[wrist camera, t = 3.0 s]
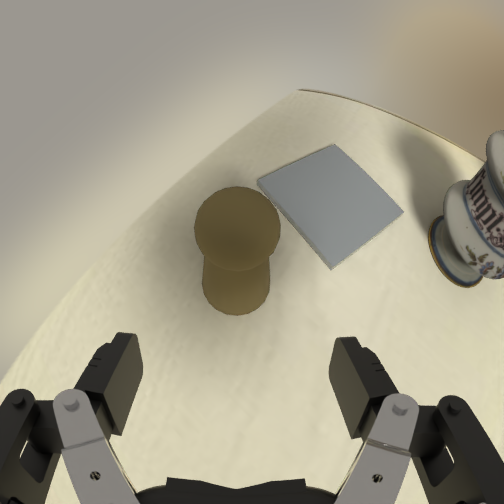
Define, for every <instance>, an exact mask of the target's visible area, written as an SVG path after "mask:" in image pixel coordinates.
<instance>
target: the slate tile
mask: <svg viewBox="0 0 504 504" xmlns="http://www.w3.org/2000/svg"><path fill="white" fill-rule="evenodd" d="M257 185H258V186H259V188H260V189H261V190H262V191H263V192H264V193H265V194H266V195H267V196H268V198H269V199H270V200H271V201H272V202H273V203H274V204H275V205H276V207H277V208H278V209H279V210H280V211H281V212H282V213H283V215H284V216H285V217H286V218H287V219H288V220H289V221H290V223H291V224H292V225H293V226H294V227H295V228H296V230H297V231H298V232H299V233H300V234H301V235H302V236H303V238H304V239H305V240H306V241H307V242H308V244H309V245H310V246H311V247H312V248H313V249H314V251H315V252H316V253H317V254H318V255H319V257H320V258H321V259H322V260H323V261H324V263H325V264H326V265H327V266H328V267H329V269H330V270H332V269H333V268H335V267H336V266H337V265H339V264H340V263H341V262H343V261H344V260H345V259H347V258H348V257H349V256H351V255H352V254H353V253H355V252H356V251H357V250H359V249H360V248H361V247H362V246H364V245H365V244H366V243H368V242H369V241H370V240H371V239H373V238H374V237H375V236H377V235H378V234H379V233H380V232H382V231H383V230H384V229H385V228H387V227H388V226H389V225H390V224H392V223H393V222H394V221H395V220H396V219H398V218H399V217H400V216H401V215H402V214H403V213H404V211H403V210H402V209H401V208H400V207H399V206H398V205H397V204H396V203H395V202H394V201H393V199H392V198H391V197H390V196H389V195H388V194H387V193H386V192H385V191H384V190H383V189H382V188H381V187H380V186H379V185H378V184H377V183H376V182H375V181H374V180H373V179H372V178H371V177H370V176H369V175H368V174H367V173H366V172H365V171H364V170H363V169H362V168H361V167H360V166H358V165H357V164H356V163H355V162H354V161H353V160H352V159H351V158H350V157H349V156H348V155H347V154H346V153H344V152H343V151H342V150H341V149H340V148H339V147H338V146H337V145H335V144H334V145H332V146H330V147H327V148H325V149H323V150H320V151H318V152H316V153H314V154H312V155H309V156H307V157H305V158H303V159H301V160H298V161H296V162H294V163H292V164H290V165H288V166H286V167H283V168H281V169H279V170H277V171H275V172H273V173H271V174H269V175H267V176H265V177H263V178H261V179H258V180H257Z"/></svg>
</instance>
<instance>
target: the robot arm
mask: <svg viewBox="0 0 504 504" xmlns="http://www.w3.org/2000/svg"><path fill="white" fill-rule="evenodd" d="M142 375H143V362H142V357H141V353H140V348H139V343H138V338H137V335H136V334H132V333H122V332H118V333H117V334H116V335H115V337H114V339H113V340H112V342H111V343H105V344H104V345H102V346H101V347H100V348H98V349H97V351H96V352H95V354H94V355H93V357H92V359H91V360H90V362H89V363H88V366H87V367H86V368H85V370H84V372H83V373H82V375H81V377H80V378H79V380H78V382H77V384H76V385H75V387H74V389H68V390H65V391H62V392H61V393H59V394H58V395H57V396H56V397H55V399H54V400H36V399H35V398H34V396H33V394H32V393H31V392H30V391H28V390H26V389H17V390H14V391H12V392H11V393H9V394H8V395H7V396H6V398H5V399H4V401H3V402H2V404H1V406H0V504H45V500H46V497H47V494H48V491H49V487H50V484H51V481H52V478H53V475H54V472H55V469H56V466H57V463H58V461H59V458H60V455H61V454H62V456H63V459H64V462H65V465H66V468H67V471H68V473H69V476H70V479H71V481H72V484H73V487H74V489H75V492H76V494H77V496H78V499H79V501H80V503H81V504H394V503H395V501H396V498H397V495H398V493H399V490H400V488H401V485H402V482H403V479H404V477H405V474H406V471H407V468H408V465H409V461H410V458H412V460H413V463H414V465H415V468H416V470H417V473H418V475H419V478H420V481H421V483H422V486H423V488H424V491H425V494H426V497H427V499H428V502H429V504H504V463H503V461H502V459H501V457H500V455H499V454H498V452H497V450H496V449H495V447H494V445H493V443H492V442H491V440H490V438H489V437H488V435H487V434H486V432H485V430H484V429H483V427H482V426H481V424H480V422H479V421H478V419H477V418H476V416H475V415H474V413H473V411H472V410H471V408H470V407H469V405H468V404H467V403H466V401H464V400H463V399H462V398H460V397H458V396H453V395H449V396H445V397H443V398H442V399H441V400H440V401H439V403H438V405H437V406H420V405H418V404H417V402H416V401H415V400H414V399H413V398H412V397H410V396H408V395H405V394H400V393H399V392H398V390H397V388H396V387H395V385H394V383H393V382H392V380H391V378H390V377H389V375H388V373H387V372H386V371H385V369H384V367H383V365H382V364H381V362H380V360H379V359H378V357H377V356H376V354H375V353H373V352H372V351H371V350H370V349H368V348H367V347H364V348H362V347H361V345H360V343H359V342H358V340H357V338H356V337H339V338H336V340H335V344H334V348H333V353H332V357H331V361H330V365H329V379H330V382H331V385H332V387H333V390H334V393H335V395H336V398H337V401H338V404H339V406H340V409H341V412H342V415H343V417H344V420H345V423H346V426H347V428H348V431H349V434H350V437H351V439H355V438H360V437H361V438H362V440H363V443H362V445H361V447H360V449H359V451H358V453H357V455H356V457H355V459H354V461H353V463H352V465H351V467H350V469H349V471H348V473H347V474H346V476H345V478H344V480H343V481H342V483H341V485H340V486H339V488H338V490H337V491H336V493H335V494H334V493H331V492H329V491H326V490H323V489H319V488H315V487H308V486H306V483H305V478H304V479H295V480H283V481H270V482H266V483H263V484H258V485H254V486H250V487H245V488H240V489H232V488H227V487H223V486H219V485H215V484H211V483H207V482H204V481H199V480H187V479H178V478H169V477H167V482H166V485H161V486H156V487H151V488H148V489H145V490H142V491H140V492H137V491H136V489H135V487H134V486H133V484H132V483H131V481H130V479H129V478H128V476H127V474H126V472H125V471H124V469H123V467H122V465H121V463H120V461H119V460H118V458H117V456H116V454H115V452H114V450H113V448H112V446H111V444H110V442H109V439H110V437H111V434H114V435H119V436H121V435H122V432H123V429H124V426H125V424H126V421H127V418H128V415H129V412H130V409H131V406H132V403H133V401H134V398H135V395H136V392H137V390H138V387H139V384H140V381H141V379H142ZM26 440H27V441H28V442H27V444H26V446H25V449H24V451H23V453H22V455H21V458H20V454H21V451H22V449H23V447H24V445H25V443H26ZM446 446H447V447H448V449H449V451H450V453H451V455H452V457H453V459H454V463H453V461H452V459H451V457H450V455H449V453H448V451H447V449H446Z"/></svg>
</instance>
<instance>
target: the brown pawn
mask: <svg viewBox="0 0 504 504" xmlns="http://www.w3.org/2000/svg"><path fill="white" fill-rule="evenodd" d="M280 226H281V225H280V220H279V217H278V213H277V210H276V208H275V207H274V206H273V204H272V203H271V202H270V200H269V199H267V198H266V197H265V196H263V195H262V194H261V193H259V192H258V191H255V190H252V189H250V188H245V187H230V188H225V189H222V190H220V191H218V192H215V193H214V194H213V195H212V196H210V197H209V198H208V199H207V200H205V201H204V202H203V204H202V206H201V207H200V209H199V210H198V212H197V217H196V221H195V225H194V230H195V237H196V242H197V244H198V246H199V248H200V250H201V252H202V254H203V255H204V267H203V279H202V286H203V292H204V295H205V297H206V298H207V300H208V302H209V303H210V304H211V305H212V306H213V307H214V308H215V309H216V310H218V311H221V312H223V313H225V314H229V315H237V316H238V315H243V314H248V313H250V312H252V311H254V310H256V309H258V308H259V307H260V306H261V304H262V303H263V302H264V301H265V300H266V297H267V295H268V293H269V288H270V270H269V256H270V255H271V254H272V253H273V252H274V250H275V248H276V245H277V243H278V241H279V238H280Z"/></svg>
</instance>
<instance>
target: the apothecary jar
mask: <svg viewBox="0 0 504 504" xmlns="http://www.w3.org/2000/svg"><path fill="white" fill-rule="evenodd" d="M486 156H487V161H486V162H485V164H484V165H483V166H482V168H481V169H480V170H479V171H478V173H477V174H476V175H475V176H474V177H473V178H472V179H471V180H462V181H459V182H457V183H455V184H454V185H452V186H451V187H450V188H449V190H448V191H447V193H446V196H445V199H444V205H443V213H444V215H443V216H439V217H437V218H436V219H435V220H434V221H433V222H432V224H431V226H430V229H429V234H428V240H429V247H430V250H431V254H432V256H433V259H434V261H435V262H436V264H437V266H438V268H439V269H440V271H441V272H442V273H443V274H444V275H445V277H447V278H448V279H449V280H450V281H451V282H453V283H454V284H456V285H458V286H460V287H465V288H470V287H474V286H476V285H477V284H478V283H479V282H480V281H481V280H482V278H483V276H484V277H486V278H490V279H501V278H504V130H500V131H496V132H495V133H493V134H492V135H490V137H489V138H488V141H487V144H486Z"/></svg>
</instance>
